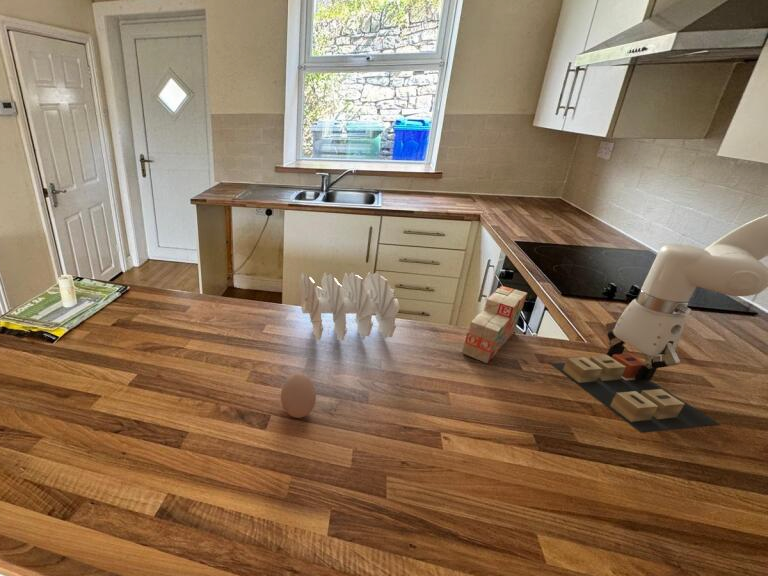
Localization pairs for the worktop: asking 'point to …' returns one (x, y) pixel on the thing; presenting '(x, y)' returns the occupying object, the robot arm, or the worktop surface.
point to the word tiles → (624, 402)
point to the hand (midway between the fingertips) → (626, 369)
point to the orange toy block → (629, 364)
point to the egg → (298, 395)
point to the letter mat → (609, 388)
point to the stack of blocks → (494, 324)
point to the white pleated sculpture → (350, 303)
